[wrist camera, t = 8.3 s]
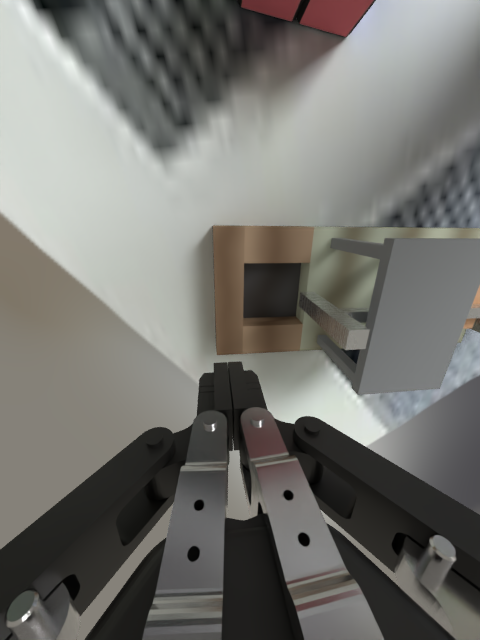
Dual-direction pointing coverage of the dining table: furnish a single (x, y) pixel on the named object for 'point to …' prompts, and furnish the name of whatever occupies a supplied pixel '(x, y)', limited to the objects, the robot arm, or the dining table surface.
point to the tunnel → (411, 312)
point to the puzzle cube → (315, 12)
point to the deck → (293, 281)
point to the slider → (350, 320)
